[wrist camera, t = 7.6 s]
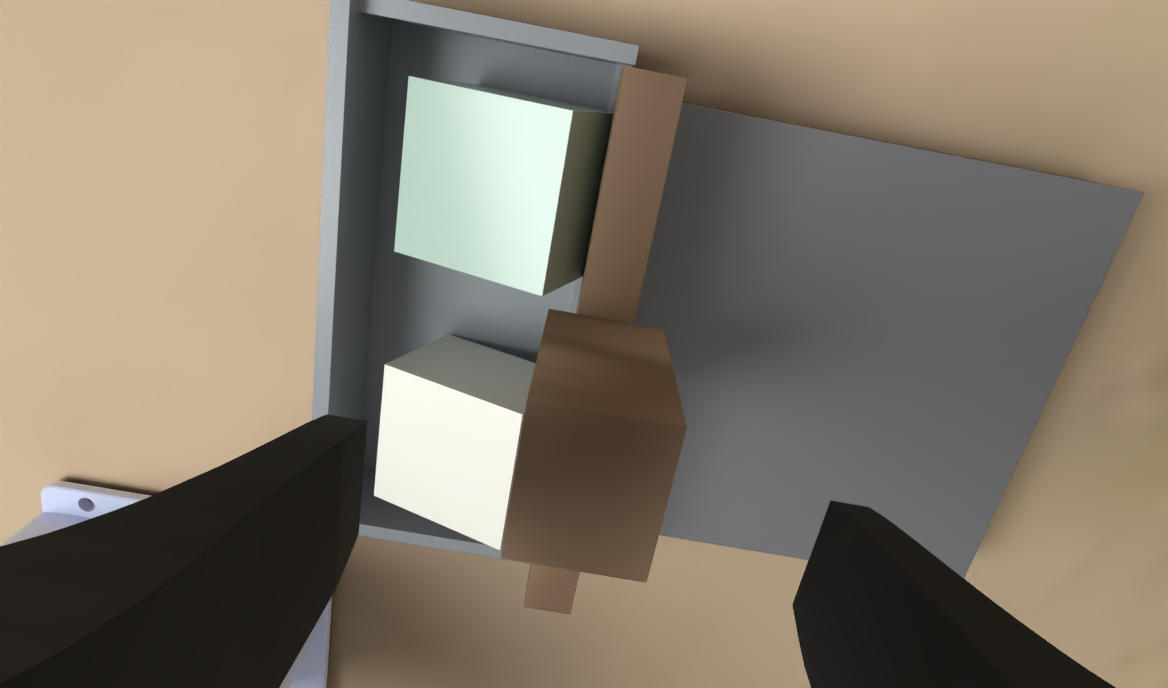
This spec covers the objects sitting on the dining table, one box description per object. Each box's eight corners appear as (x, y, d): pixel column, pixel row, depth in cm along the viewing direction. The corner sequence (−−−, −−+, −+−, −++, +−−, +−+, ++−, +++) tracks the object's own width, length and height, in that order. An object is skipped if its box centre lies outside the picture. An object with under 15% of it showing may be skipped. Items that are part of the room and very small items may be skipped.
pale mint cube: (460, 235, 19) (394, 251, 17) (478, 84, 18) (408, 76, 15) (591, 272, 18) (541, 296, 15) (621, 114, 17) (572, 110, 14)
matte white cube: (435, 451, 22) (373, 495, 19) (449, 334, 20) (384, 364, 18) (548, 496, 21) (499, 550, 18) (571, 375, 19) (522, 414, 17)
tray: (349, 472, 23) (307, 538, 19) (381, 1, 18) (331, -16, 14) (546, 505, 23) (537, 576, 20) (633, 50, 18) (640, 44, 15)
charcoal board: (559, 481, 22) (555, 517, 21) (635, 93, 18) (638, 94, 16) (931, 544, 23) (961, 585, 21) (1090, 181, 19) (1144, 192, 17)
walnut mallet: (513, 531, 20) (465, 766, 13) (593, 62, 16) (585, 49, 9) (596, 544, 21) (592, 785, 14) (700, 83, 16) (777, 86, 9)
